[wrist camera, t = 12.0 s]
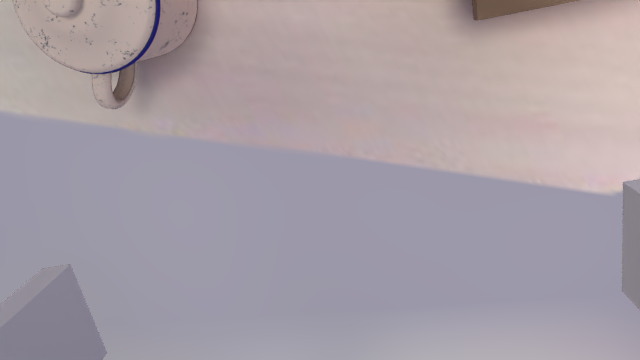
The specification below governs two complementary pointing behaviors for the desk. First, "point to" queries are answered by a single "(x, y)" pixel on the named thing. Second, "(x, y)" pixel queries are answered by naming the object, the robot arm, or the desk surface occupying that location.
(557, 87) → the desk surface
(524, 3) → the walnut lid
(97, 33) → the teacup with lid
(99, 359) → the robot arm
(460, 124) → the desk surface
